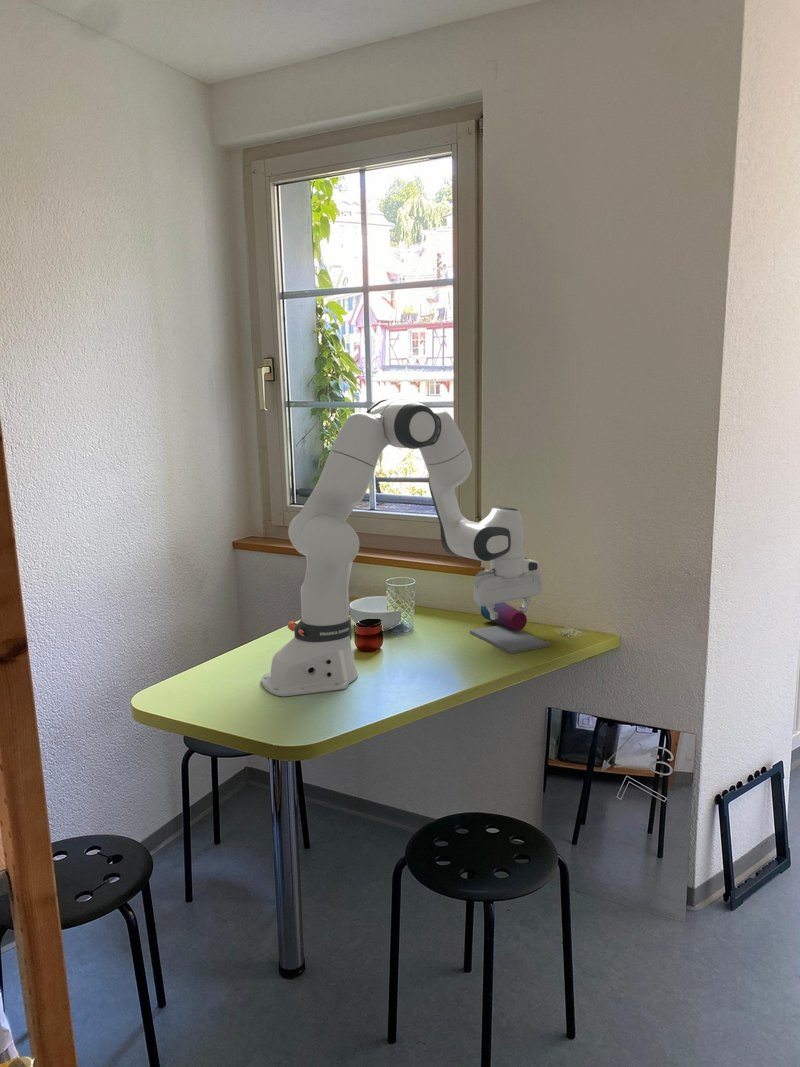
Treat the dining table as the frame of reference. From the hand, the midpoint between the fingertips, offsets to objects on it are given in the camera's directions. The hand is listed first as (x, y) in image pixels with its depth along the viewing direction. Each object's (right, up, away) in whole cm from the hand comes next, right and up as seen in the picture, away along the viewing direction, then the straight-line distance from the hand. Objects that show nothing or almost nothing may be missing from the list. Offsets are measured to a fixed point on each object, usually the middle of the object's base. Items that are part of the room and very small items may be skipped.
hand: (509, 615), depth 216 cm
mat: (0, -6, -1) cm, 6 cm away
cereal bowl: (-35, -5, +13) cm, 38 cm away
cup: (+3, -2, +2) cm, 4 cm away
